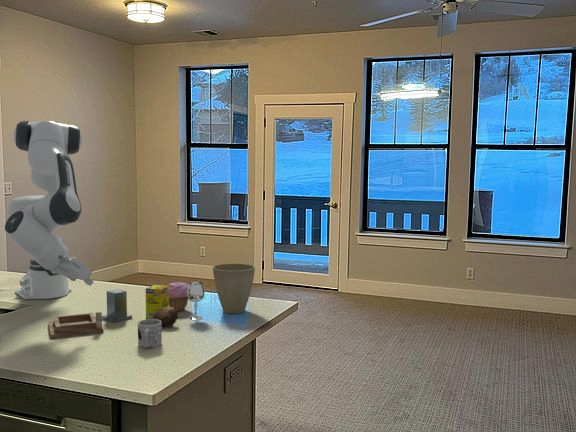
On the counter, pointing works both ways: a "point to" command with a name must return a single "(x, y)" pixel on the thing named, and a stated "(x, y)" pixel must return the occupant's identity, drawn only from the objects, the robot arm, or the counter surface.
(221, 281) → the plant pot
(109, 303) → the grey block on base
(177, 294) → the cupcake
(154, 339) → the mug
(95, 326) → the brown wooden square tray
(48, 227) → the robot arm
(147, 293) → the supplement box
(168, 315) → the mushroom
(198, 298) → the wineglass
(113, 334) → the counter surface
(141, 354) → the counter surface
